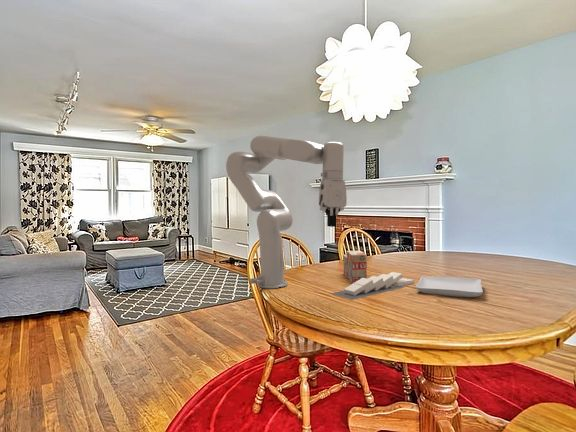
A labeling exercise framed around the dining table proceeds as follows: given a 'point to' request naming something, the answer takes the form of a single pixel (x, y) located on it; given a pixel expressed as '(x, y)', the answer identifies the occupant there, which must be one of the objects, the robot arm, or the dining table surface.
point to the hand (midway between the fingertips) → (331, 226)
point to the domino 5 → (403, 282)
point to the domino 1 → (358, 286)
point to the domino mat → (371, 292)
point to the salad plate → (450, 286)
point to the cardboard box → (355, 265)
